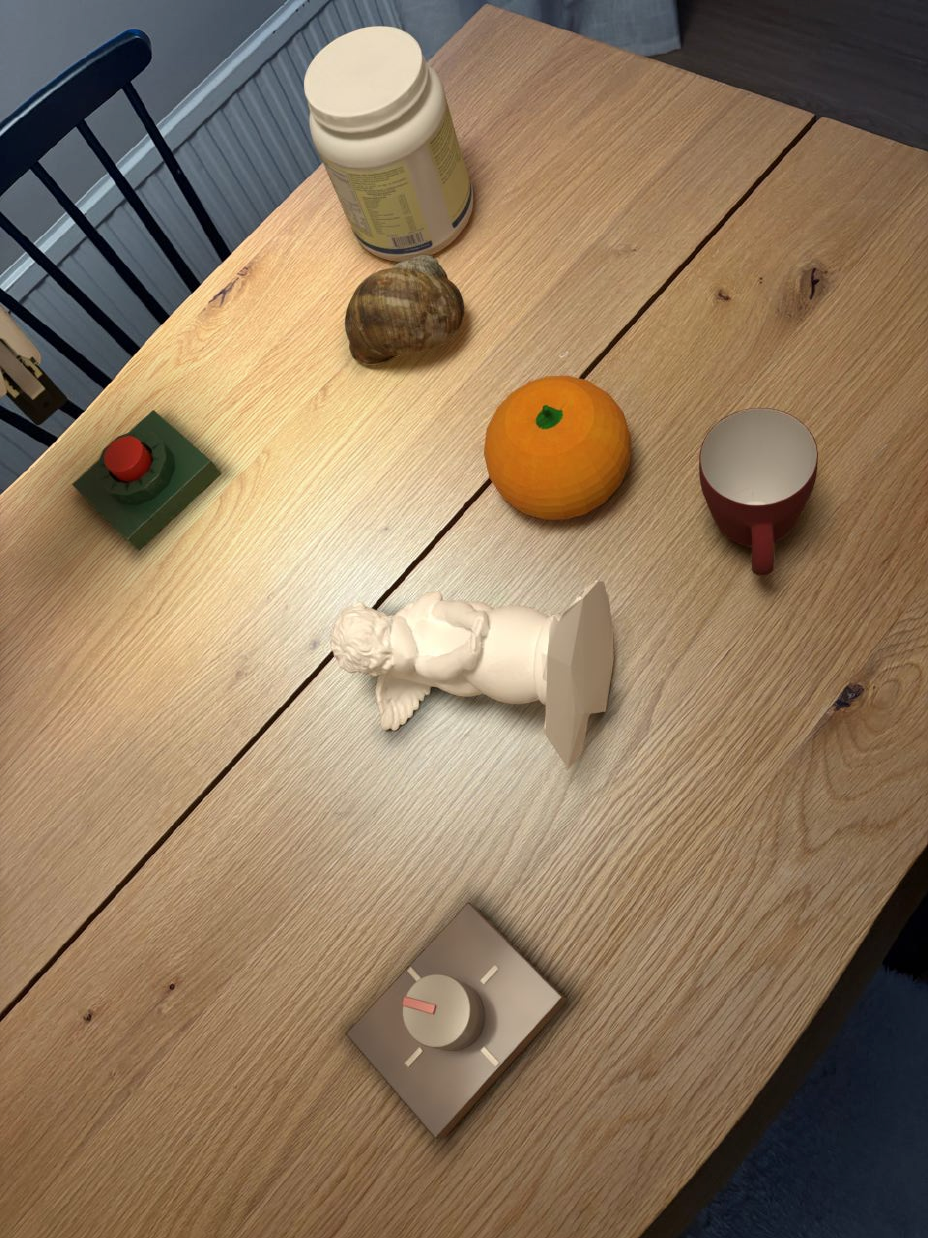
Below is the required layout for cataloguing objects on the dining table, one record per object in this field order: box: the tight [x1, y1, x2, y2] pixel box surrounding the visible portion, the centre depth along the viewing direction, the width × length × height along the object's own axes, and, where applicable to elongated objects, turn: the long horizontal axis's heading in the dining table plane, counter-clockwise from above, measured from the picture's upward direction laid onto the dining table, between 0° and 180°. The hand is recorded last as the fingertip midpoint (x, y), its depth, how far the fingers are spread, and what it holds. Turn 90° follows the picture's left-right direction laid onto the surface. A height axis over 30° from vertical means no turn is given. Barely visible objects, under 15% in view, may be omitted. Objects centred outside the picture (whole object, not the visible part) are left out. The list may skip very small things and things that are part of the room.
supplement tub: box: [303, 25, 474, 263], centre depth 98 cm, size 12×12×17 cm
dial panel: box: [345, 901, 568, 1139], centre depth 74 cm, size 12×9×3 cm
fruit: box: [483, 375, 632, 520], centre depth 86 cm, size 12×12×10 cm
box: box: [72, 409, 222, 551], centre depth 98 cm, size 10×9×4 cm
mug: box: [698, 407, 819, 577], centre depth 80 cm, size 11×8×10 cm
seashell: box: [344, 255, 465, 366], centre depth 97 cm, size 11×9×8 cm
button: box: [104, 436, 152, 482], centre depth 96 cm, size 4×4×2 cm
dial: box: [402, 974, 484, 1051], centre depth 71 cm, size 4×4×5 cm
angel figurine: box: [329, 579, 615, 771], centre depth 80 cm, size 14×20×12 cm
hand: (48, 407), depth 86 cm, fingers closed
